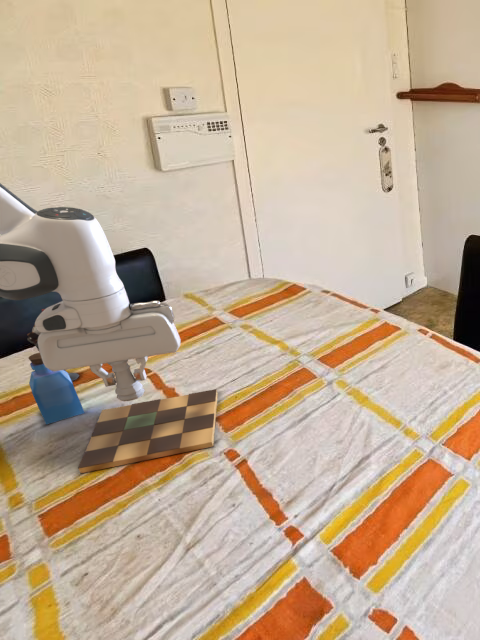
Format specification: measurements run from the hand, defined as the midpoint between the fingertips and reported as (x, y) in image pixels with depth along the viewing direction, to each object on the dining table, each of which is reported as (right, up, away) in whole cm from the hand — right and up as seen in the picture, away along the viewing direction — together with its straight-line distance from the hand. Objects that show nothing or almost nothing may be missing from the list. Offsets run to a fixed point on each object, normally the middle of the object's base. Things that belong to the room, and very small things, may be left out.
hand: (126, 382), depth 109 cm
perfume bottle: (-18, -6, +9) cm, 21 cm away
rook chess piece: (0, -3, +1) cm, 3 cm away
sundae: (-26, +1, +22) cm, 34 cm away
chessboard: (+3, -9, +3) cm, 10 cm away
